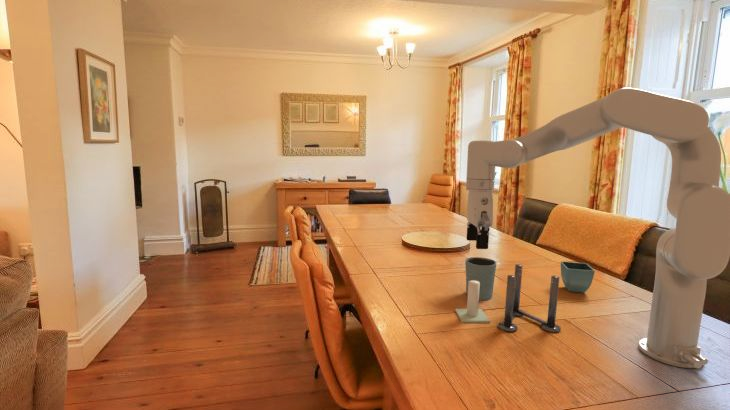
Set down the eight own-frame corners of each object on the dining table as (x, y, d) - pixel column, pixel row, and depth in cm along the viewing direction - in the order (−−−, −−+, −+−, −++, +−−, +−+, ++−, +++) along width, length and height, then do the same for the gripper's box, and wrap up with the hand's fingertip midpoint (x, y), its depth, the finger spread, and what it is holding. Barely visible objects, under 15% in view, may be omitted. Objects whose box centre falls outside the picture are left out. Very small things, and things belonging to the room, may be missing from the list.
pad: (489, 322, 110) (489, 320, 110) (461, 322, 110) (461, 320, 110) (481, 310, 118) (481, 309, 118) (455, 310, 118) (455, 308, 118)
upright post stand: (564, 332, 105) (569, 280, 103) (501, 332, 105) (505, 279, 102) (539, 309, 120) (543, 263, 117) (484, 309, 120) (487, 262, 117)
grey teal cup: (473, 302, 125) (475, 266, 123) (457, 290, 134) (459, 257, 133) (500, 299, 127) (503, 264, 126) (483, 288, 137) (485, 255, 135)
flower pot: (593, 295, 132) (595, 270, 131) (565, 293, 134) (567, 268, 132) (584, 286, 140) (586, 263, 139) (557, 284, 142) (560, 261, 141)
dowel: (479, 317, 112) (481, 284, 111) (468, 316, 112) (470, 284, 111) (476, 312, 116) (478, 280, 114) (465, 312, 116) (467, 280, 114)
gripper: (504, 188, 100) (500, 252, 102) (483, 182, 117) (480, 237, 119) (475, 188, 100) (472, 252, 102) (459, 182, 117) (456, 237, 119)
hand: (476, 244), depth 111 cm, fingers open, 9 cm apart
